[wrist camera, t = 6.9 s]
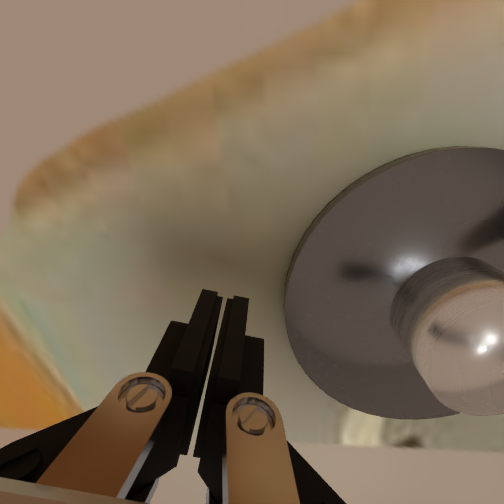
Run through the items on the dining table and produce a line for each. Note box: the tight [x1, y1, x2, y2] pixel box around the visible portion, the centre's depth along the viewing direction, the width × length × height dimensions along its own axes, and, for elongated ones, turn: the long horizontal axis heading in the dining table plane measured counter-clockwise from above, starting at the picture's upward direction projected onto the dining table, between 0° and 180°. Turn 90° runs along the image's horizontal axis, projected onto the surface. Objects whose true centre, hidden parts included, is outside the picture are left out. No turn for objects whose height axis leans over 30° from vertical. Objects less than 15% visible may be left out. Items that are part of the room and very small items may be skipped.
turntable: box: [284, 147, 504, 419], centre depth 15 cm, size 16×16×6 cm
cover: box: [390, 257, 504, 416], centre depth 15 cm, size 6×6×4 cm
